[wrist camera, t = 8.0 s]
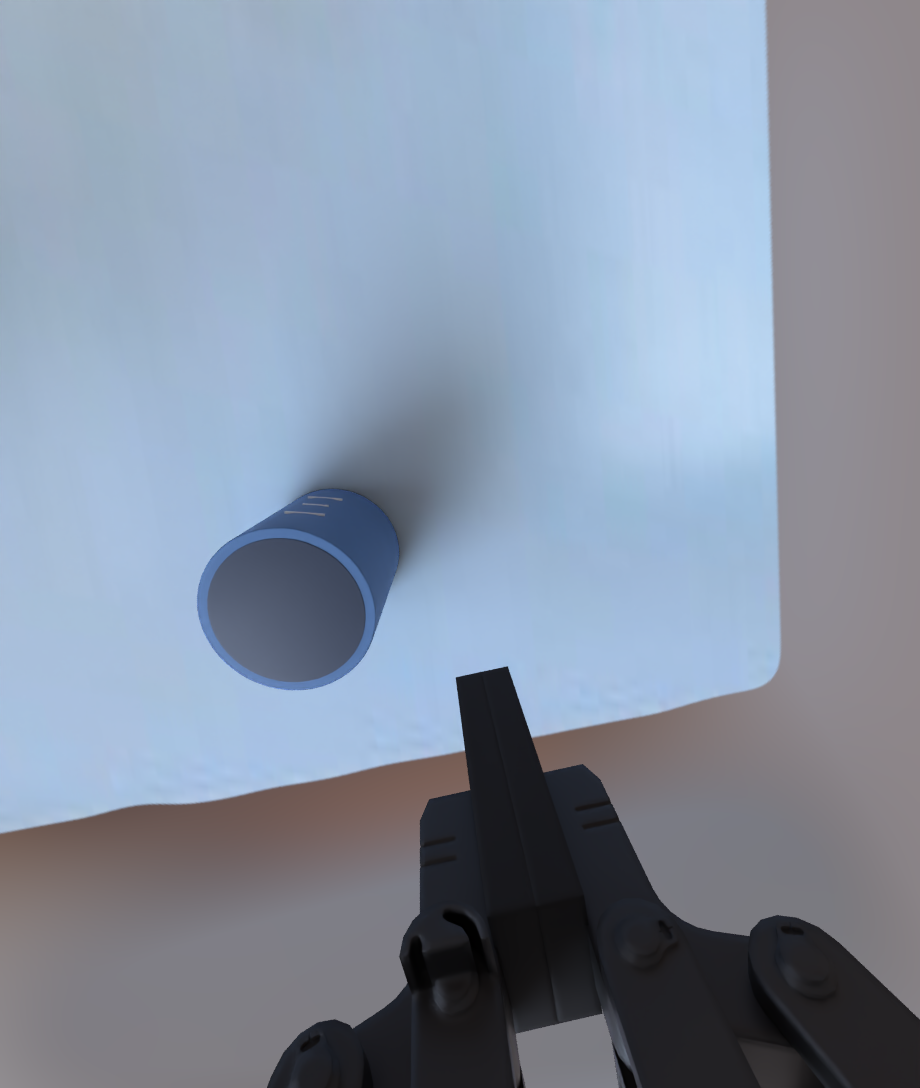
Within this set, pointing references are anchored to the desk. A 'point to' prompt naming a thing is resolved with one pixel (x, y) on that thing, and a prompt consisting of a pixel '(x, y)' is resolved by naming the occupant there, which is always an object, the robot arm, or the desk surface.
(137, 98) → the desk surface
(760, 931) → the robot arm
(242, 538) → the measuring cup
